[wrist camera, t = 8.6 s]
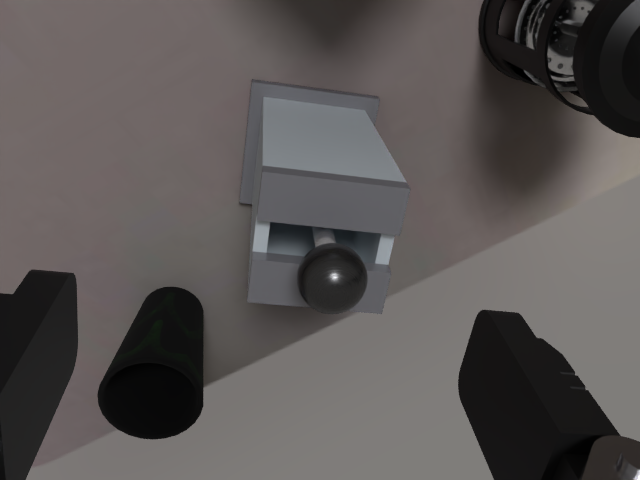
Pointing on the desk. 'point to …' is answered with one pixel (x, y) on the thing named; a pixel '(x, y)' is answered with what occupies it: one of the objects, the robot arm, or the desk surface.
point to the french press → (574, 54)
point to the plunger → (331, 275)
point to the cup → (157, 368)
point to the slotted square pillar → (317, 187)
